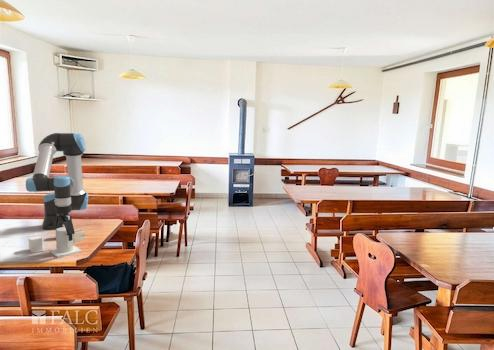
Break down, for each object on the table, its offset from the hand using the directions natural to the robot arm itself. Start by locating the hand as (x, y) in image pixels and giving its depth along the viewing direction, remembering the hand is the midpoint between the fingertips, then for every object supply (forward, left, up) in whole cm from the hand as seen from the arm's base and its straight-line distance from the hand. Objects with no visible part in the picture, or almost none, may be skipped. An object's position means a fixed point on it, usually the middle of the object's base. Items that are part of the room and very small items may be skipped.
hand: (65, 242), depth 174 cm
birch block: (-14, +12, -5) cm, 19 cm away
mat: (0, 0, -5) cm, 5 cm away
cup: (0, 0, -4) cm, 4 cm away
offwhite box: (-14, -10, -5) cm, 18 cm away
